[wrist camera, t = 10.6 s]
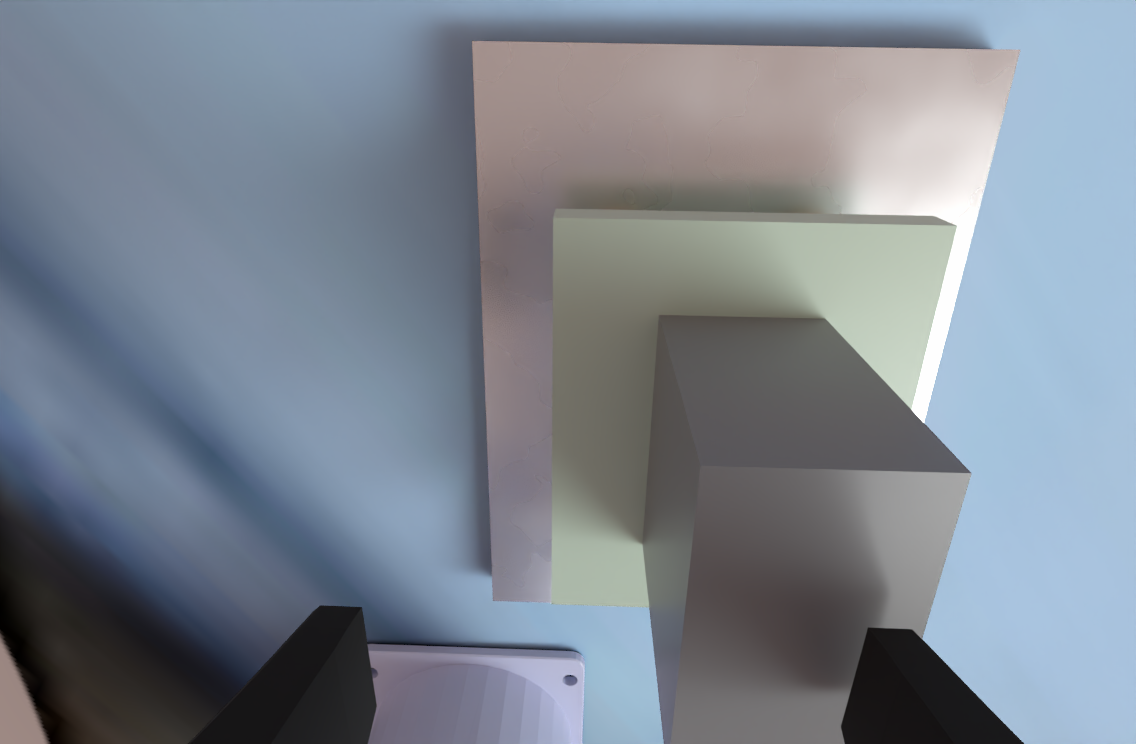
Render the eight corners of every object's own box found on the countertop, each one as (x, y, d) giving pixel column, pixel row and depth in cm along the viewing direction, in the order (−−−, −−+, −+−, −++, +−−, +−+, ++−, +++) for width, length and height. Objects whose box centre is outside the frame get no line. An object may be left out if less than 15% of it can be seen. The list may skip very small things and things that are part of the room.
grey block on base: (847, 587, 18) (984, 862, 12) (553, 577, 19) (534, 844, 12) (933, 215, 14) (1209, 332, 8) (555, 208, 15) (527, 317, 8)
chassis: (862, 591, 22) (900, 665, 19) (496, 579, 22) (484, 649, 20) (995, 51, 16) (1080, 47, 13) (478, 42, 16) (455, 37, 13)
